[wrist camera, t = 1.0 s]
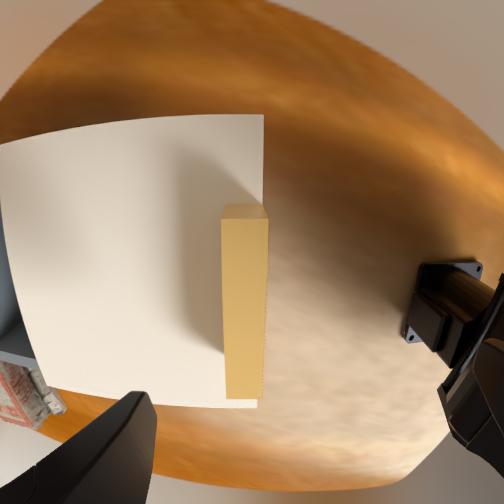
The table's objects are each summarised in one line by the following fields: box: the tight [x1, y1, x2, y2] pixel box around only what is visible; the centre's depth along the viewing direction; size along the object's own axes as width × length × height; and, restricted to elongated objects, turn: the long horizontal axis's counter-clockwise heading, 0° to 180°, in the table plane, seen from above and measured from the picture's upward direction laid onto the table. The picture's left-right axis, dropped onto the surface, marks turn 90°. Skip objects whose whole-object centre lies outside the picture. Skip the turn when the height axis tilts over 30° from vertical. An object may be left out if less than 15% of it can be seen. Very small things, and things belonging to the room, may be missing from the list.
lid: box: [0, 114, 269, 408], centre depth 10 cm, size 11×12×3 cm
